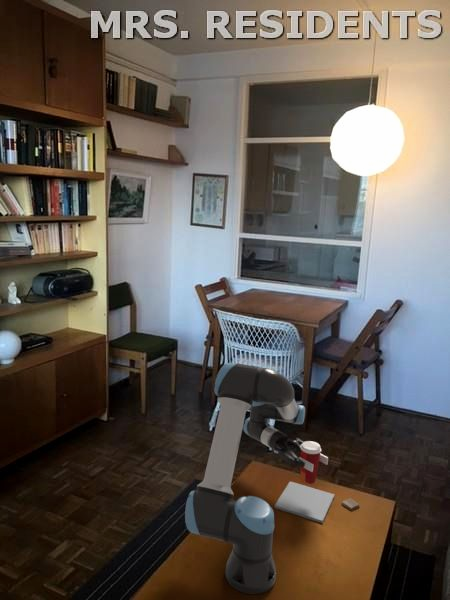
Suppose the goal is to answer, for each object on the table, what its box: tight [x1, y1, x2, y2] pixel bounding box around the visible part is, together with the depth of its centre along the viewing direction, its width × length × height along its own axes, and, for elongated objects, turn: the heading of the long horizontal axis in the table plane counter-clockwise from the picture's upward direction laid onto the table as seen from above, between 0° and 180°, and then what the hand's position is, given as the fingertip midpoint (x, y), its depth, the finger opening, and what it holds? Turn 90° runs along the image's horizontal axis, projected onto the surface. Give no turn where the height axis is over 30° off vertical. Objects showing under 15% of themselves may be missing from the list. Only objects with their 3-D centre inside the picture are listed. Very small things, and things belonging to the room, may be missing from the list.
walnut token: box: [341, 497, 360, 511], centre depth 184 cm, size 4×4×2 cm
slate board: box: [273, 480, 335, 524], centre depth 184 cm, size 18×18×1 cm
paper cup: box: [300, 440, 322, 485], centre depth 181 cm, size 8×8×14 cm
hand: (320, 464), depth 177 cm, fingers closed on paper cup, 8 cm apart
